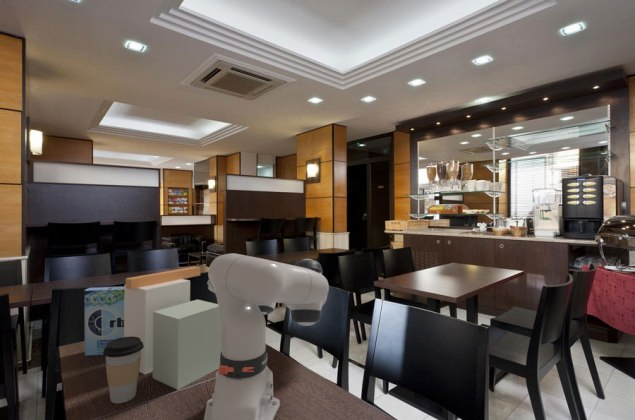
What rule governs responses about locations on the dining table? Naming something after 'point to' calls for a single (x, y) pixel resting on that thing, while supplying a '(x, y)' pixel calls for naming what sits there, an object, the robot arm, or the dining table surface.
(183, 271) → the orange rod
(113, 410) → the dining table surface
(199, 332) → the low stand
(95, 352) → the gum box
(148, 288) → the tall stand
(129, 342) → the coffee cup
